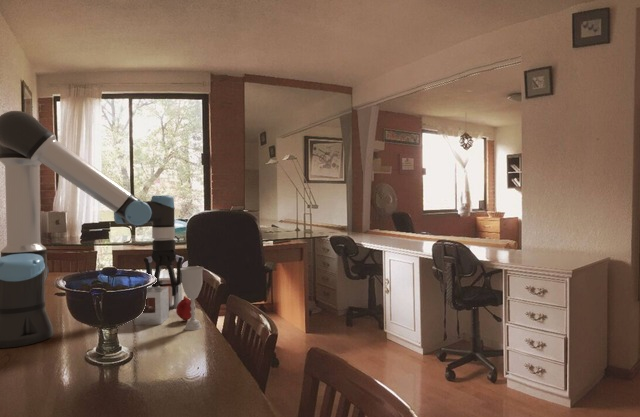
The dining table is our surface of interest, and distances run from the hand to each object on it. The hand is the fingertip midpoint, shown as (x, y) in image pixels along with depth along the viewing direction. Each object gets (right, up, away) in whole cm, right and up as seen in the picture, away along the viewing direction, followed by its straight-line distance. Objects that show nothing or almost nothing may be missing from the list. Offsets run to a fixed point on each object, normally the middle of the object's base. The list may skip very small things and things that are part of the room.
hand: (165, 305), depth 153 cm
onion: (+12, -2, -15) cm, 19 cm away
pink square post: (0, +2, -3) cm, 3 cm away
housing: (+1, -2, -14) cm, 14 cm away
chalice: (+17, -2, -23) cm, 28 cm away
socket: (0, -2, +5) cm, 5 cm away
